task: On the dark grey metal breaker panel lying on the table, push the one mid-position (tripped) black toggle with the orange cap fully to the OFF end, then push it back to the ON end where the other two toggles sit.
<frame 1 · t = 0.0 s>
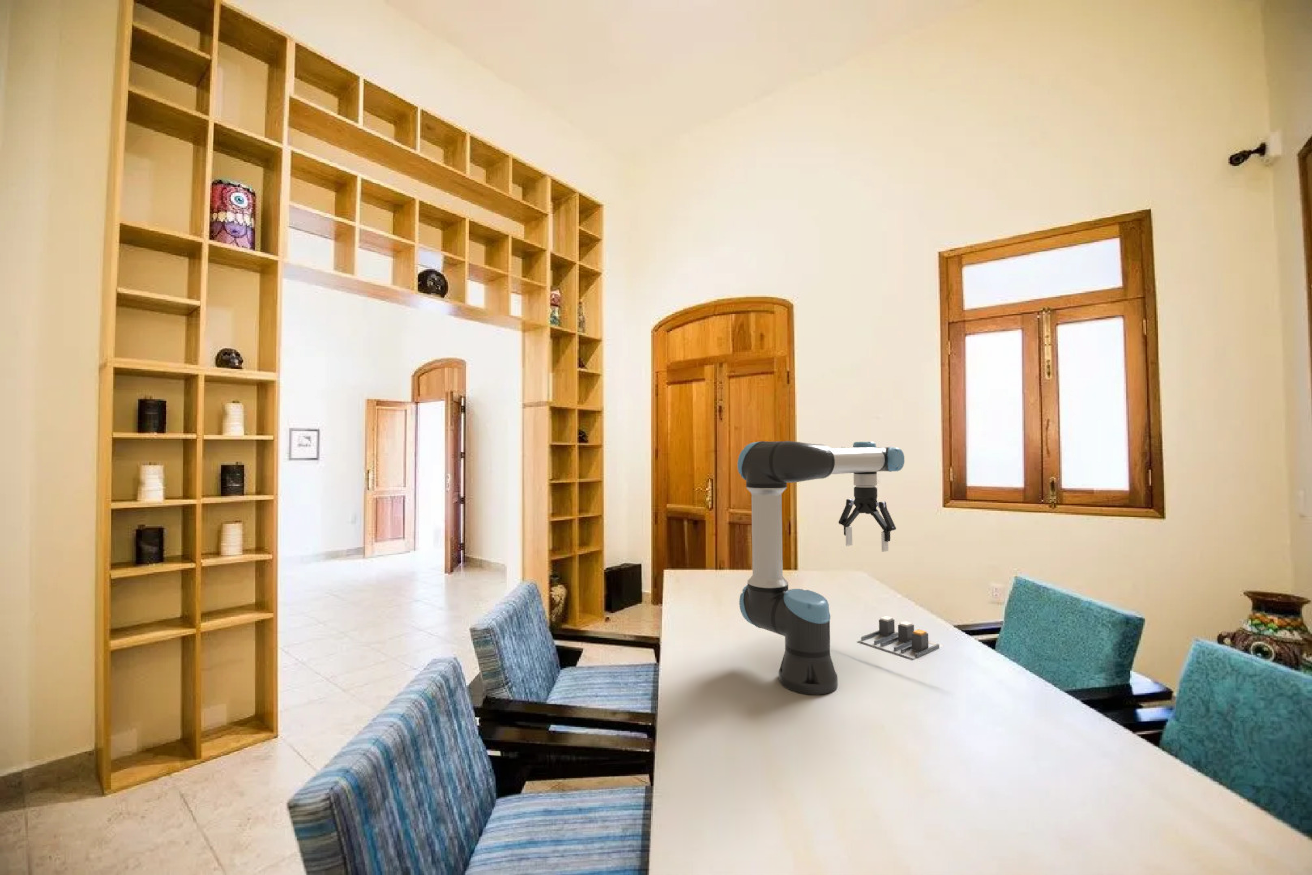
hand: (866, 548, 181), 28 cm above the table, fingers open, 13 cm apart
panel: (899, 647, 164), on the table
breaker 1: (919, 640, 159), point 4 cm above the table, slide at 0.0 cm
breaker 3: (886, 626, 172), point 4 cm above the table, slide at 4.0 cm
breaker 2: (906, 631, 166), point 4 cm above the table, slide at 4.0 cm
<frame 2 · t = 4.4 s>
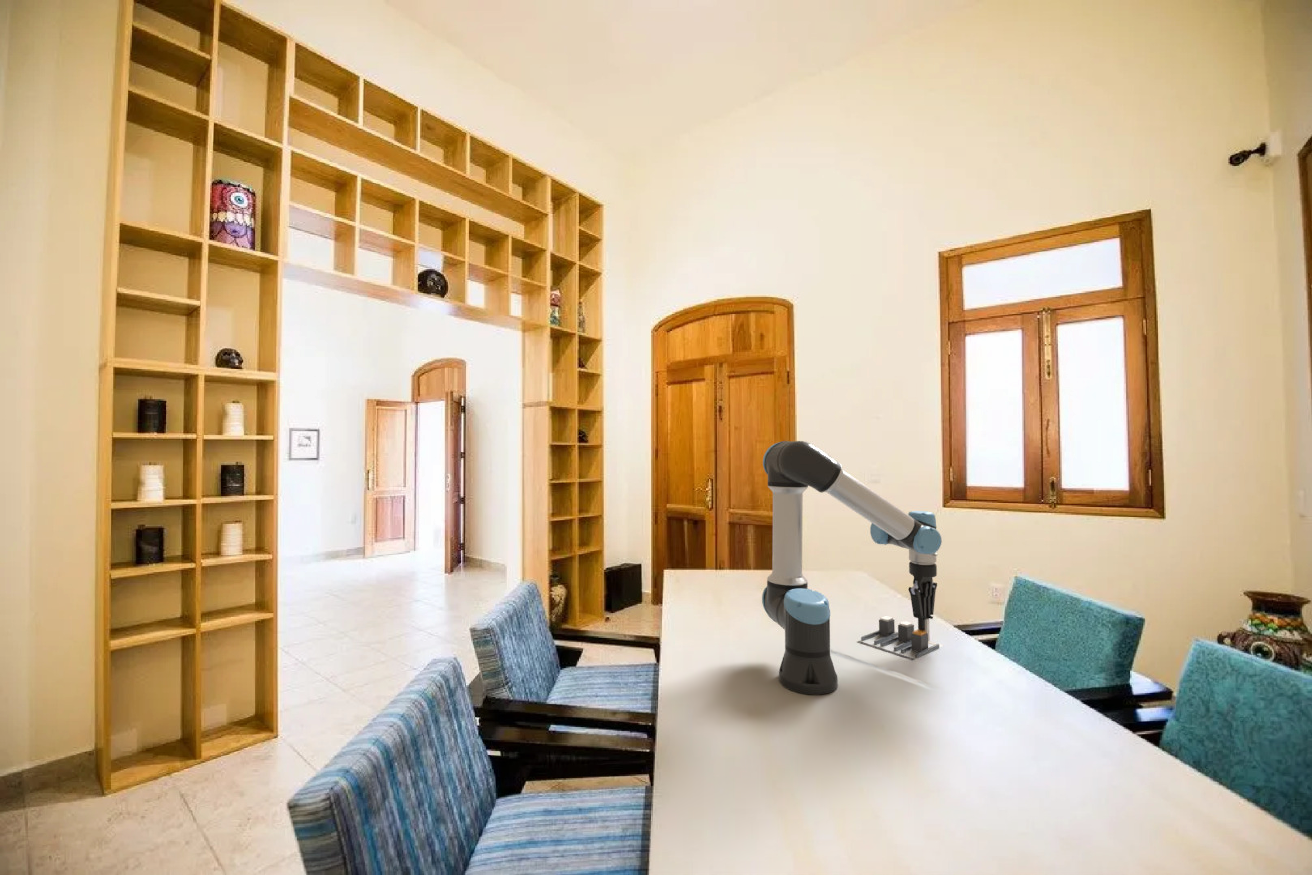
hand: (923, 639, 160), 4 cm above the table, fingers closed
breaker 1: (919, 640, 159), point 4 cm above the table, slide at -0.2 cm, touching gripper
everything else where it was.
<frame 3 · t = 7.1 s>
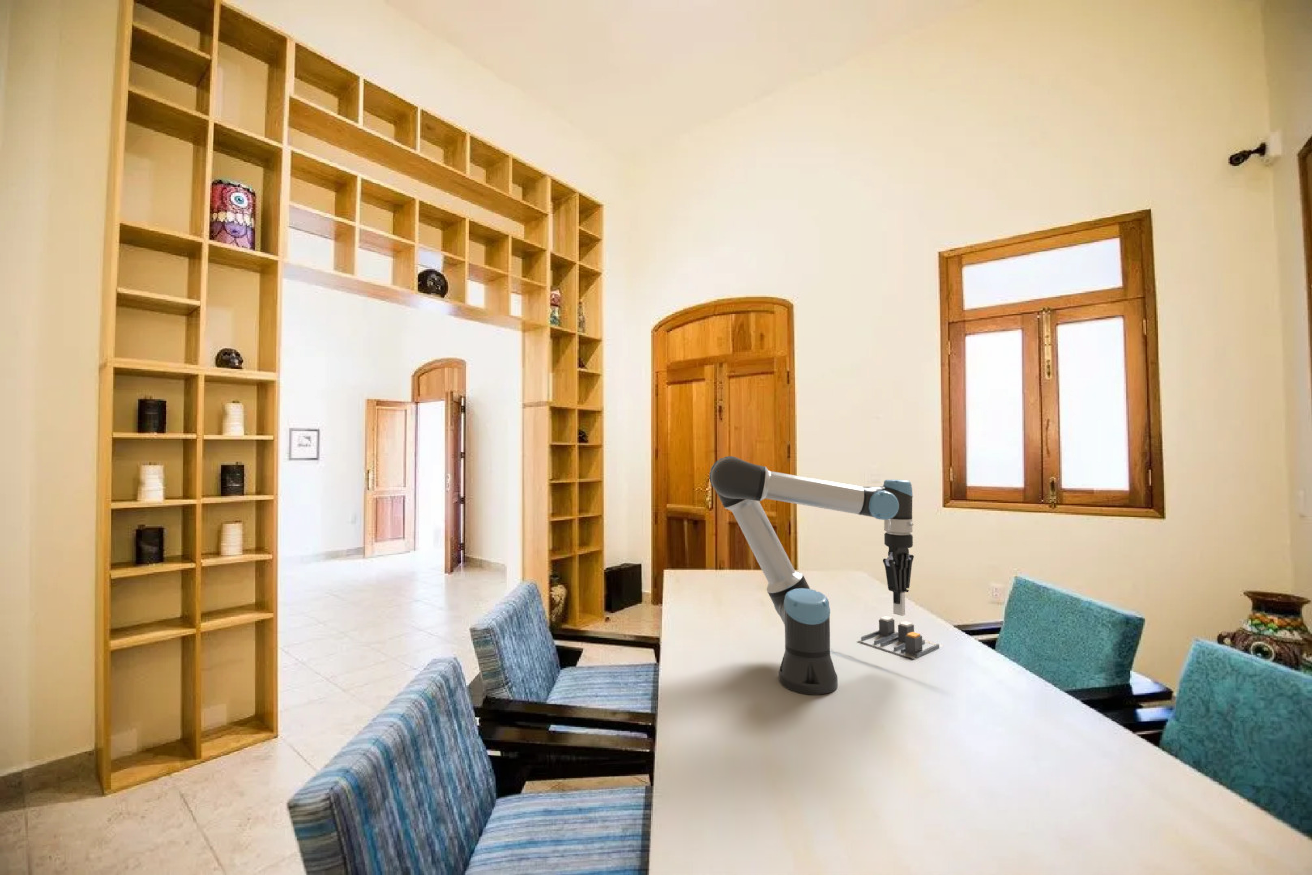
hand: (899, 614, 153), 14 cm above the table, fingers closed
breaker 1: (913, 643, 157), point 4 cm above the table, slide at -3.6 cm
everything else where it was.
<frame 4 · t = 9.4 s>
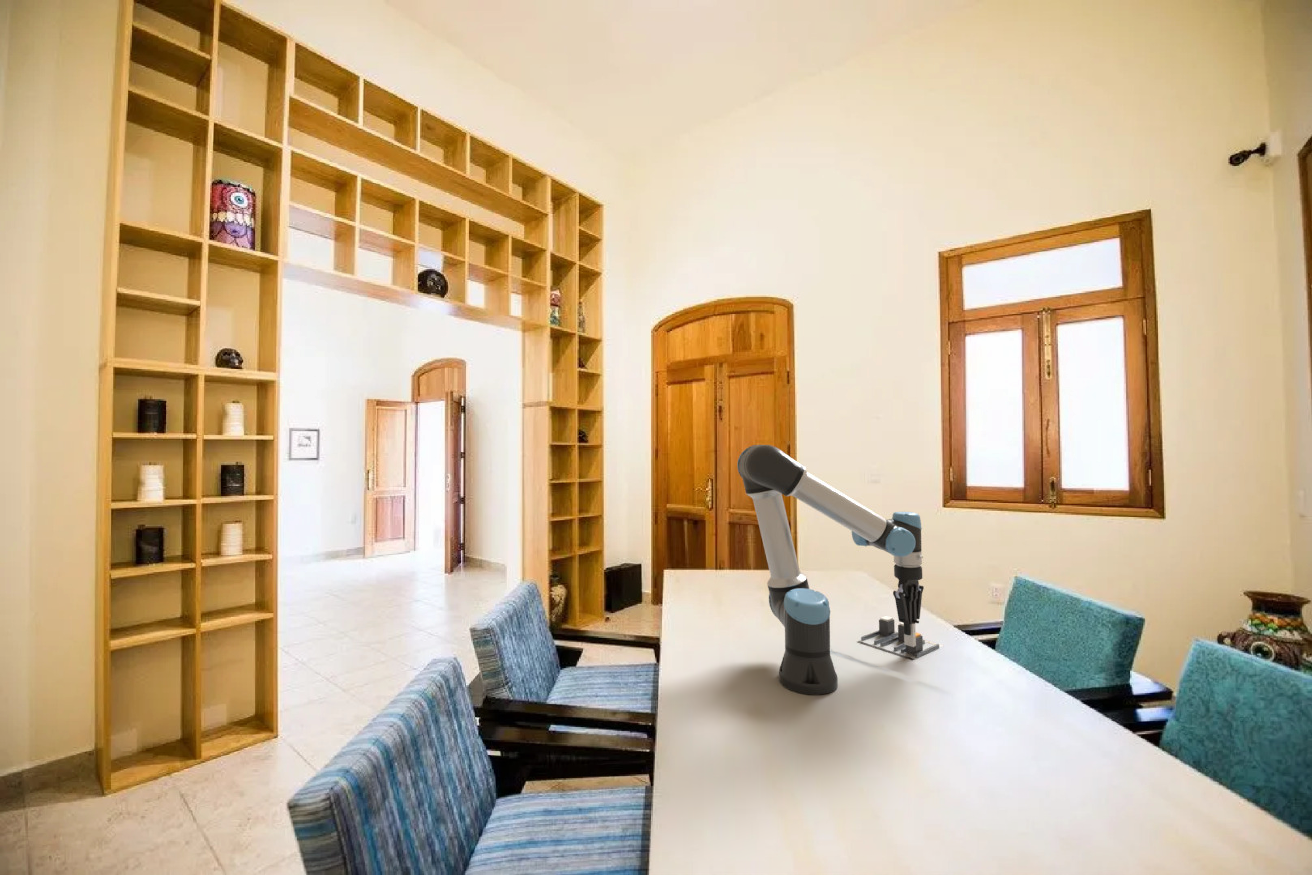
hand: (910, 645, 155), 4 cm above the table, fingers closed
breaker 1: (914, 643, 157), point 4 cm above the table, slide at -3.3 cm, touching gripper
everything else where it was.
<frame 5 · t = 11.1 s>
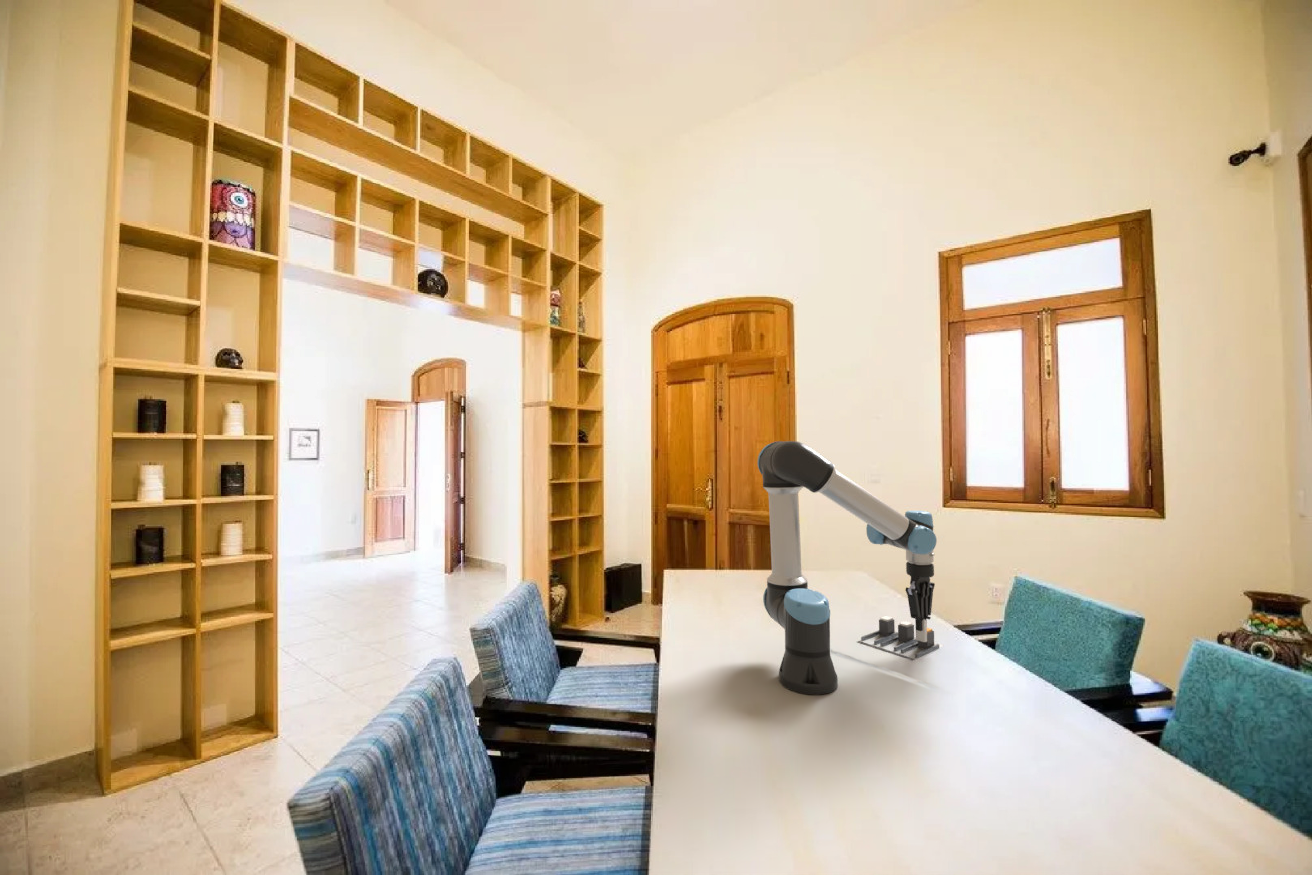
hand: (921, 640, 159), 4 cm above the table, fingers closed
breaker 1: (925, 638, 161), point 4 cm above the table, slide at 3.5 cm, touching gripper
everything else where it was.
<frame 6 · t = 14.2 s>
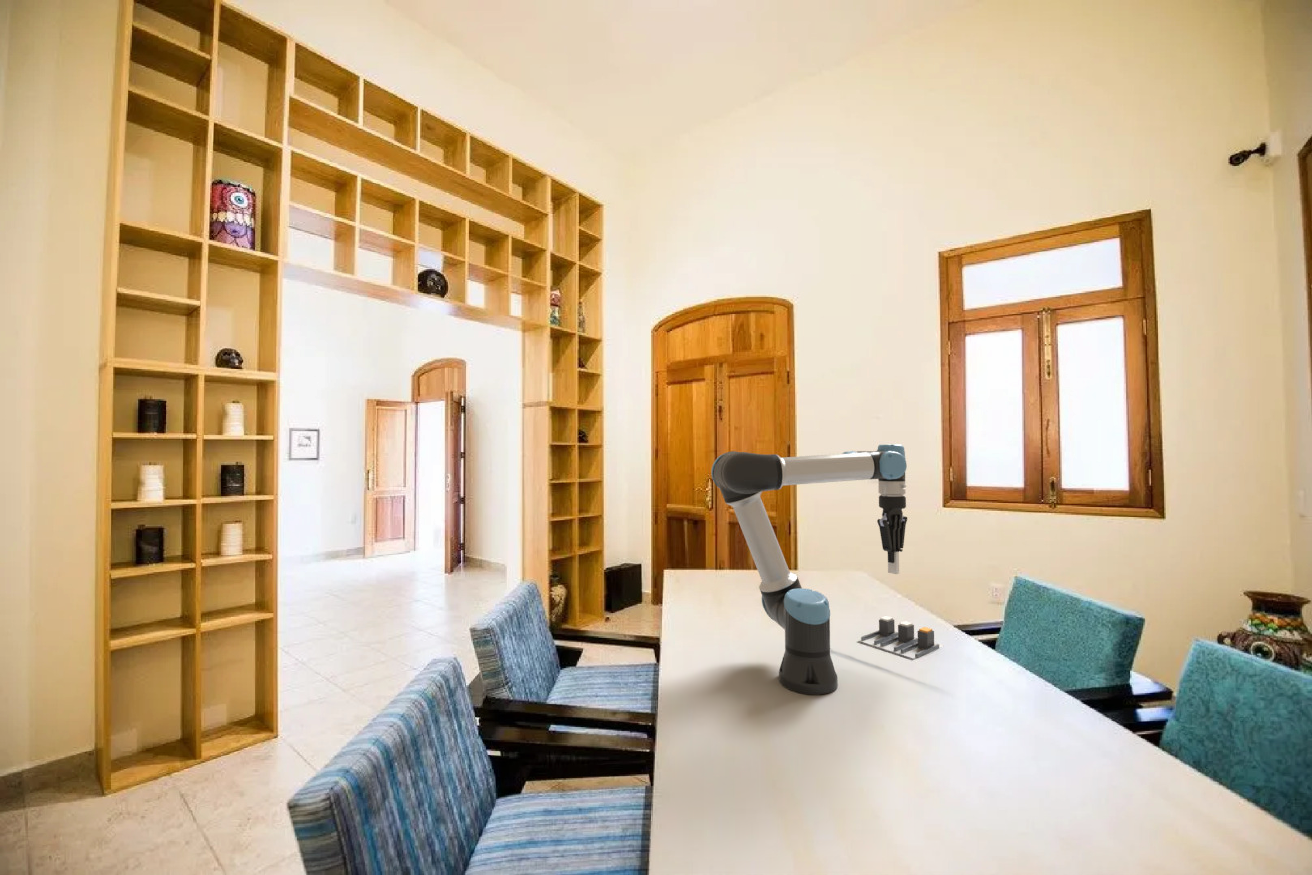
hand: (893, 572, 159), 24 cm above the table, fingers closed
breaker 1: (925, 638, 161), point 4 cm above the table, slide at 3.5 cm
everything else where it was.
at the end: breaker 1 slide at 3.5 cm; breaker 2 slide at 4.0 cm; breaker 3 slide at 4.0 cm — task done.
